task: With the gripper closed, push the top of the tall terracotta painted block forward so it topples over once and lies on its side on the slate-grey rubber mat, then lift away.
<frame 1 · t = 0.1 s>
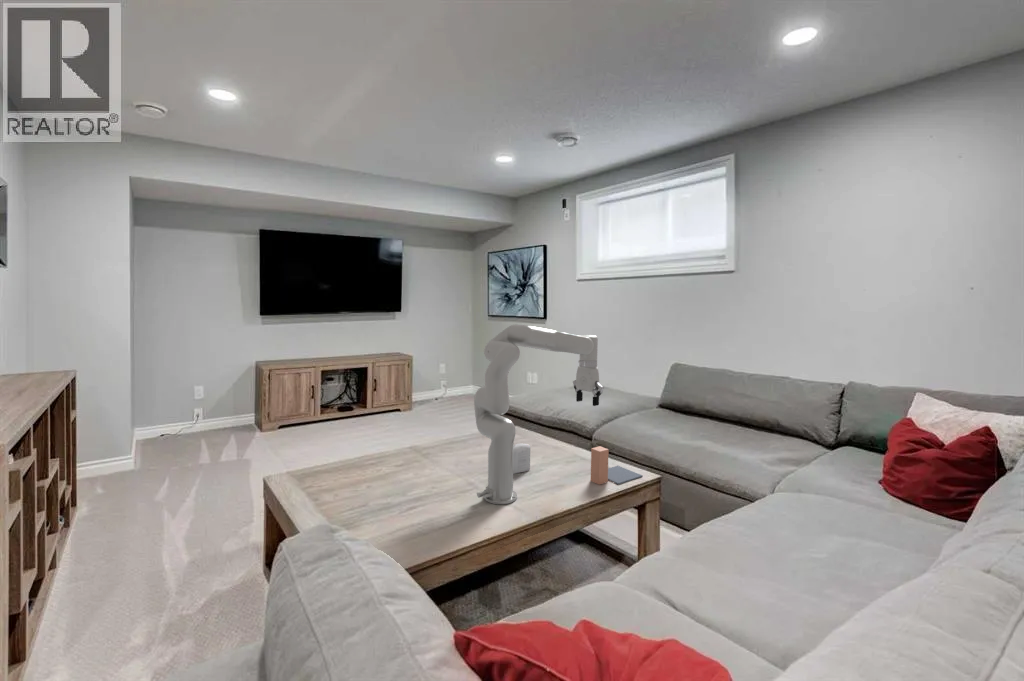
hand: (587, 403, 206), 31 cm above the table, fingers open, 9 cm apart
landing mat: (618, 475, 207), on the table
terracotta block: (599, 481, 200), on the table
photo printer: (519, 471, 211), on the table
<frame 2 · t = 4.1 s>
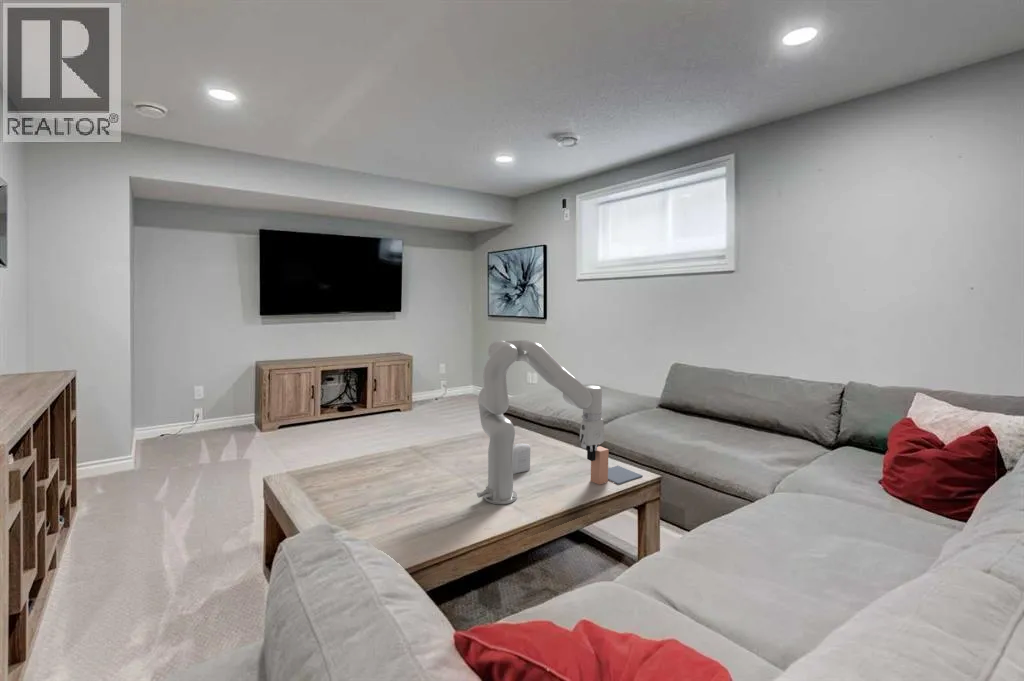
hand: (591, 459, 196), 10 cm above the table, fingers closed
terracotta block: (599, 481, 200), on the table, touching gripper
everything else where it was.
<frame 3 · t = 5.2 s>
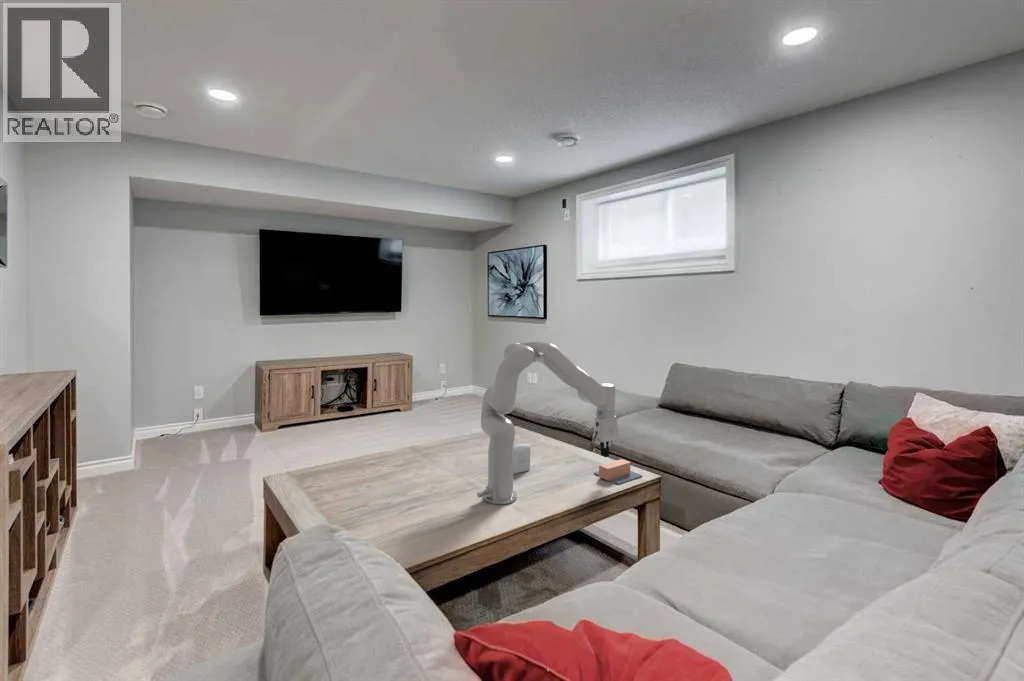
hand: (604, 455, 201), 10 cm above the table, fingers closed
terracotta block: (603, 472, 201), point 3 cm above the table, tilted 90°, touching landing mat
everything else where it was.
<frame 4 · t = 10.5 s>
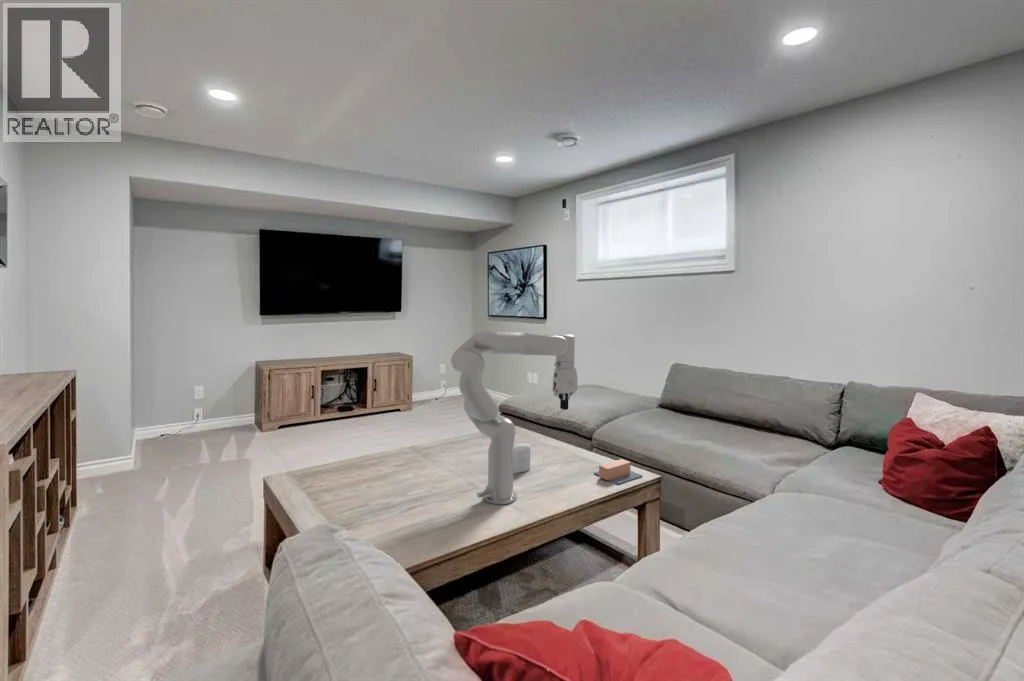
hand: (564, 408, 196), 31 cm above the table, fingers closed
nothing on the table moved.
at the end: terracotta block tilted 90°; terracotta block touching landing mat; terracotta block inside the target area (2.1 cm from its centre), point 3.1 cm above the table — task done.
